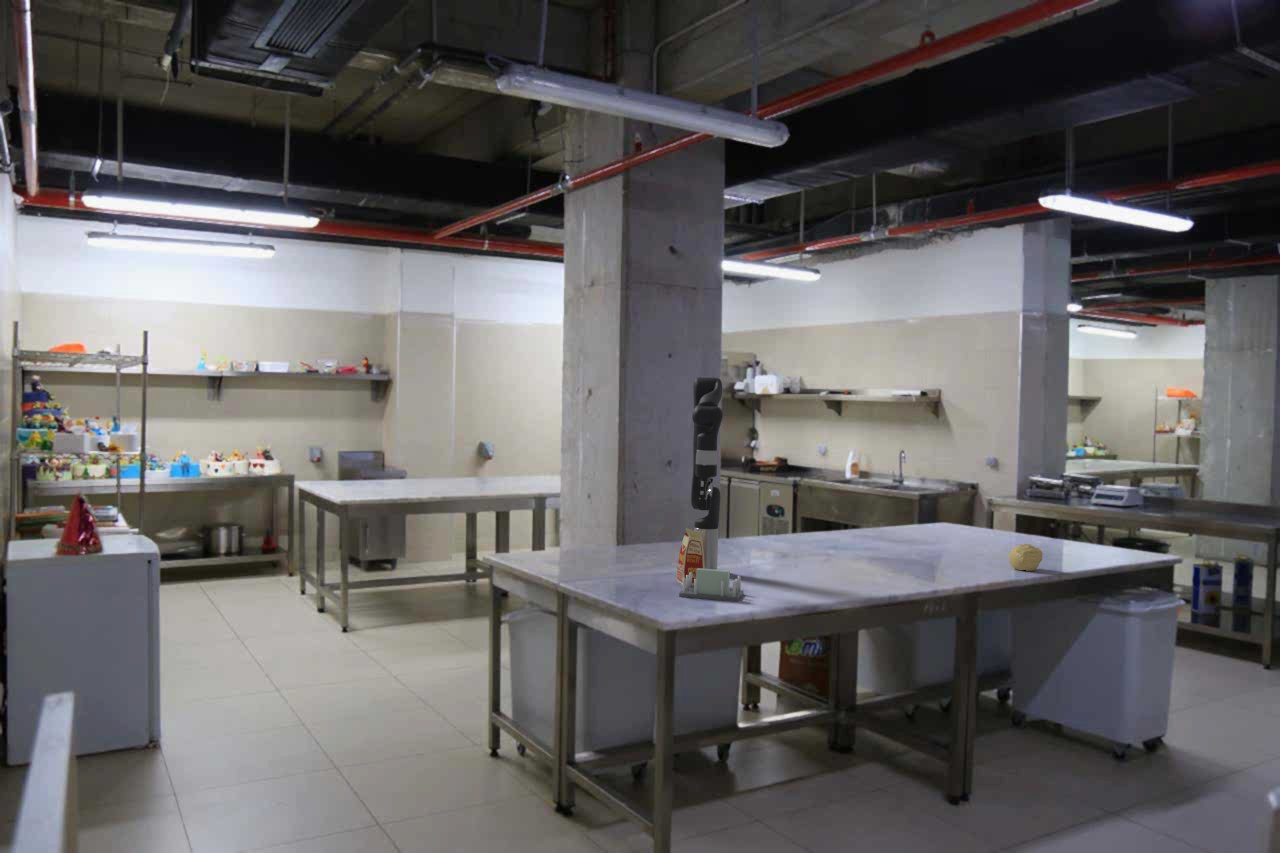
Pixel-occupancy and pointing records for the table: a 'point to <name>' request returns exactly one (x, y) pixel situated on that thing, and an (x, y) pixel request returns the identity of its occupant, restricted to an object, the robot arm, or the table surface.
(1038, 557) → the yellow lumpy ball
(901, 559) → the table surface
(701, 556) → the milk carton
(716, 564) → the robot arm
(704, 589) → the sage green prism
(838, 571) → the table surface
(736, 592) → the dish rack
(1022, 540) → the table surface
